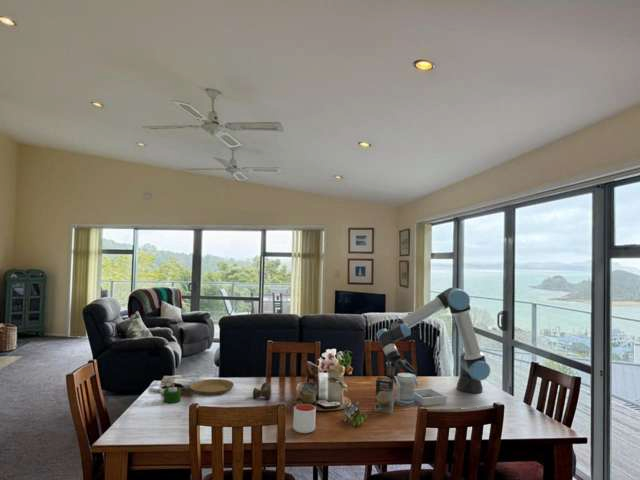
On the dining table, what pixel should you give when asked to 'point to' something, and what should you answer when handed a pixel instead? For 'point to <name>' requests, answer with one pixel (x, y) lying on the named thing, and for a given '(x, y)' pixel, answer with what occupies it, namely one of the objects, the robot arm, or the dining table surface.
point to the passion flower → (352, 410)
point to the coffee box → (384, 395)
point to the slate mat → (406, 404)
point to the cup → (304, 418)
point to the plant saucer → (212, 387)
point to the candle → (172, 395)
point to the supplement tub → (405, 388)
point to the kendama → (262, 391)
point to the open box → (435, 399)
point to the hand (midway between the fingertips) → (408, 386)
